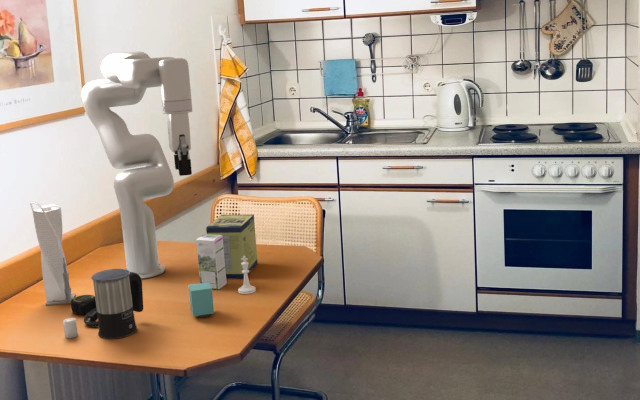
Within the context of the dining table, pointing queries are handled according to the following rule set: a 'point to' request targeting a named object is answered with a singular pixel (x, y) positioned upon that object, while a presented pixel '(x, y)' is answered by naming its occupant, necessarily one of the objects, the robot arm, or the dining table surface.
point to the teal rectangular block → (201, 299)
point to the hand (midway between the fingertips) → (183, 171)
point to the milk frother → (115, 302)
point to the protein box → (236, 242)
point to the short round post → (70, 328)
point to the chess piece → (246, 279)
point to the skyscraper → (52, 254)
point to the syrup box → (211, 260)
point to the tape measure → (83, 304)
